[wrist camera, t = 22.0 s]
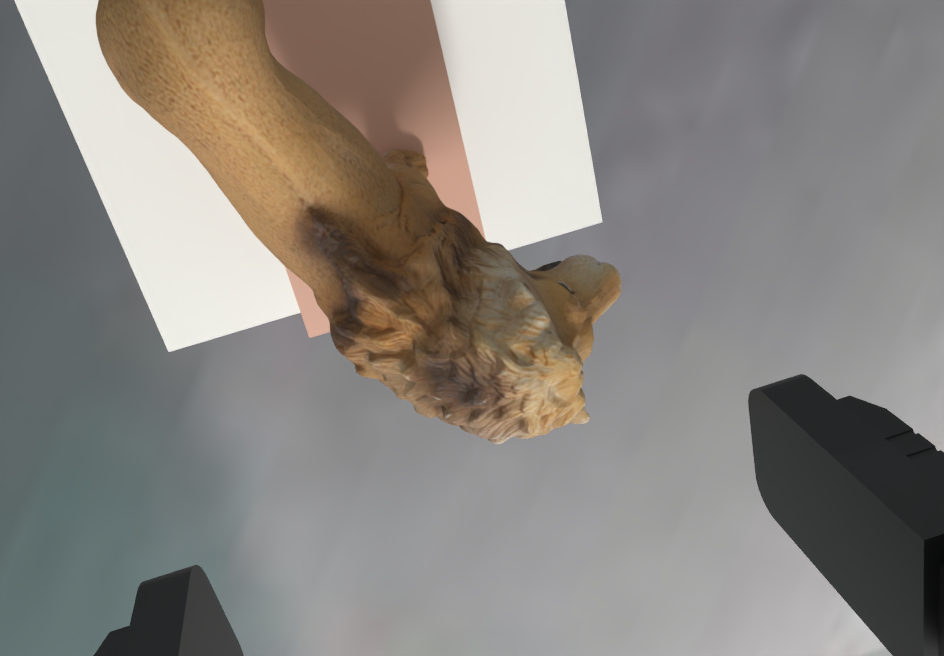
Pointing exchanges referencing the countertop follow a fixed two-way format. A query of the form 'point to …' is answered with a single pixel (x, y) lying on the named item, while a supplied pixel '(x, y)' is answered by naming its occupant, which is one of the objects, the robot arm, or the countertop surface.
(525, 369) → the lion figurine
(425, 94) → the terracotta brick
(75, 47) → the baseplate
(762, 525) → the countertop surface
